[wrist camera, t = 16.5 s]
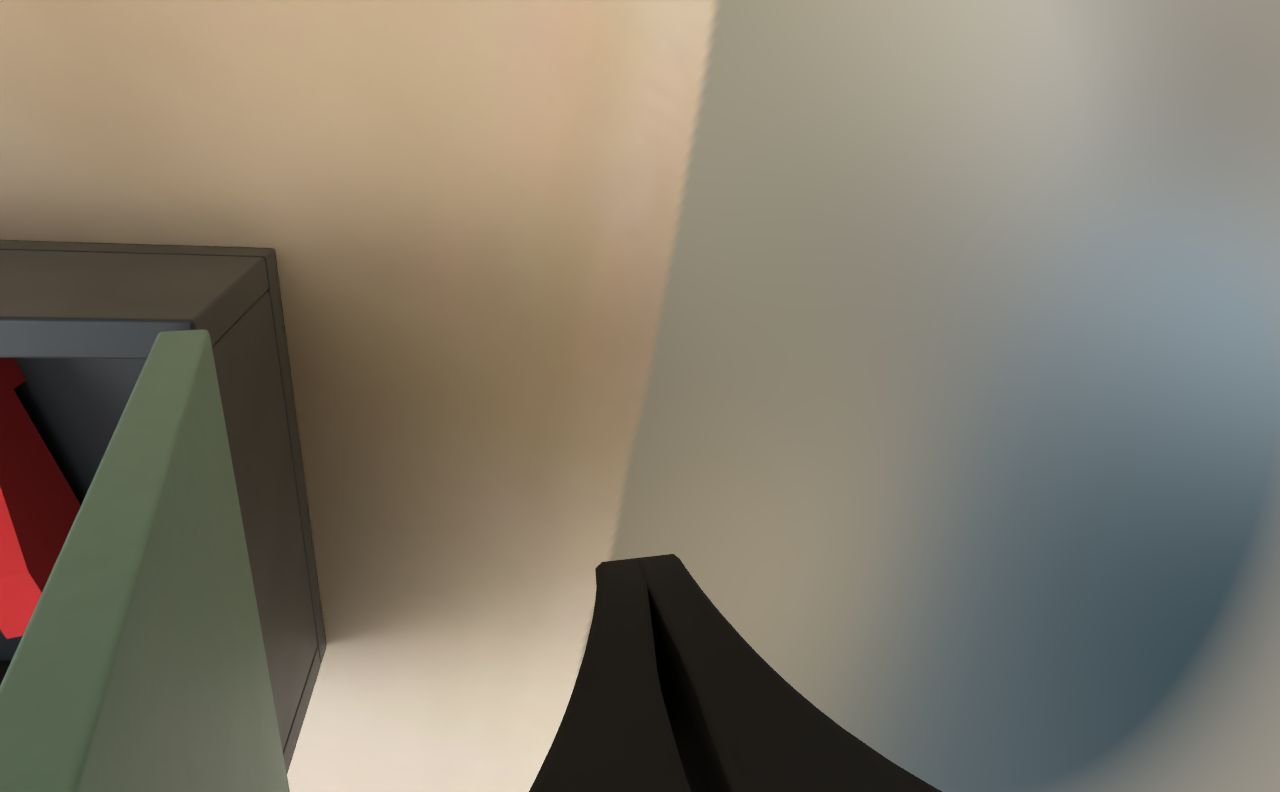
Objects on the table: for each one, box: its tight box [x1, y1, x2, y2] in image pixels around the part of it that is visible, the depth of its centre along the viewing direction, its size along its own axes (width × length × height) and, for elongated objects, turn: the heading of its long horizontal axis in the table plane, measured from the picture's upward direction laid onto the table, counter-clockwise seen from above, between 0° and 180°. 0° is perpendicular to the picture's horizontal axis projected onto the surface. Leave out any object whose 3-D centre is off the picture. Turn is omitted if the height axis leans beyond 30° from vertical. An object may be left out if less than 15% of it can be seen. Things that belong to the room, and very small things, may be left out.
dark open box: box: [0, 240, 326, 774], centre depth 18 cm, size 12×13×5 cm
